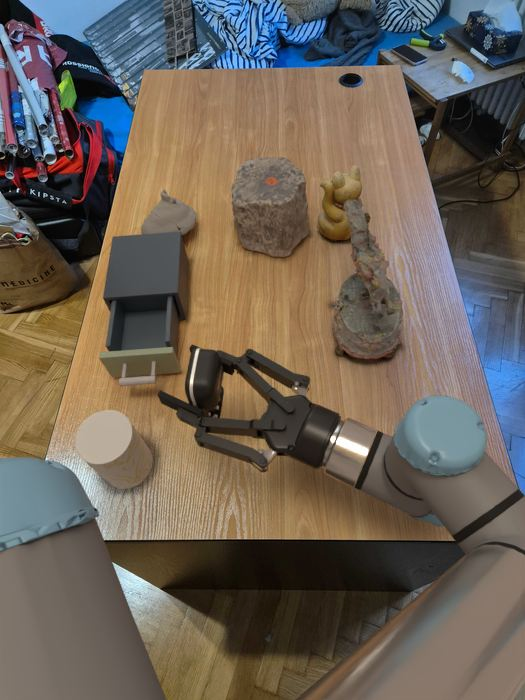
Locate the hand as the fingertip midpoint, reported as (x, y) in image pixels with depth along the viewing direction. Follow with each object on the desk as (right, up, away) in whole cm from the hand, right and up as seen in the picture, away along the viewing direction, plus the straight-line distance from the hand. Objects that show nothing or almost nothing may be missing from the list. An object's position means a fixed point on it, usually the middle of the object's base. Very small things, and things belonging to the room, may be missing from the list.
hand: (177, 373), depth 64 cm
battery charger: (+5, -5, +4) cm, 8 cm away
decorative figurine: (+29, +29, +38) cm, 56 cm away
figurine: (+31, +9, +25) cm, 41 cm away
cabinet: (-10, +15, +31) cm, 36 cm away
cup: (-10, -15, +12) cm, 22 cm away
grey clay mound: (-8, +30, +41) cm, 51 cm away
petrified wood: (+14, +30, +40) cm, 52 cm away
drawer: (-10, +3, +23) cm, 25 cm away
